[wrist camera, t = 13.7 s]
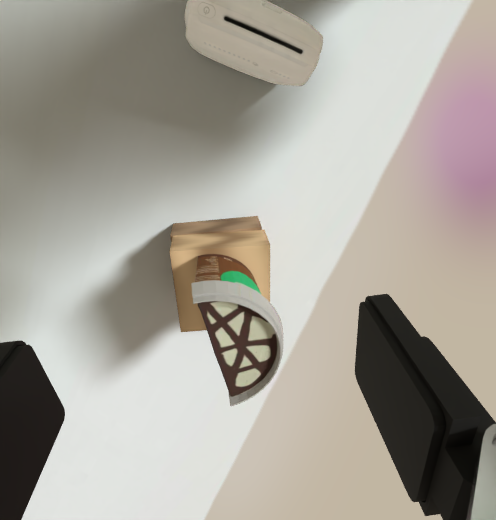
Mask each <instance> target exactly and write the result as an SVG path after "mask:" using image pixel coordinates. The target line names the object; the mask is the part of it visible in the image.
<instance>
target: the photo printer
mask: <svg viewBox="0 0 496 520" xmlns="http://www.w3.org/2000/svg"><path fill="white" fill-rule="evenodd" d="M184 19H185V24H186V39H187V41H188V42H189V44H190V45H191V47H192V48H193V49H194V50H196V51H197V52H199V53H200V54H202V55H204V56H206V57H208V58H210V59H212V60H214V61H216V62H219V63H221V64H223V65H226V66H228V67H230V68H233V69H235V70H237V71H240V72H242V73H245V74H248V75H250V76H253V77H256V78H258V79H261V80H264V81H267V82H270V83H274V84H279V85H291V86H302V85H304V84H305V83H306V82H307V80H308V79H309V77H310V76H311V74H312V72H313V71H314V69H315V68H316V66H317V63H318V60H319V55H320V53H321V50H322V45H323V37H322V35H321V34H320V33H319V32H318V31H317V30H316V29H315V28H314V27H313V26H312V25H310V24H309V23H307V22H306V21H304V20H303V19H301V18H299V17H297V16H296V15H294V14H292V13H290V12H288V11H286V10H284V9H282V8H281V7H279V6H277V5H274V4H273V3H270V2H268V1H266V0H188V1H187V4H186V8H185V15H184Z"/></svg>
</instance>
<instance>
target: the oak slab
mask: <svg viewBox="0 0 496 520" xmlns="http://www.w3.org/2000/svg"><path fill="white" fill-rule="evenodd" d="M205 254H221V255H225V256H229V257H232V258H234V259H236V260H238V261H240V262H241V263H243V264H244V265H245V266H246V267H247V268H248V269H249V270H250V271H251V273H252V275H253V276H254V279H255V281H256V283H257V285H258V288H259V290H260V292H261V294H262V296H263V297H265V298H266V299H267V300H268V301H269V302H270V243H269V241H268V238H267V236H266V233H265V230H254V231H238V232H223V233H207V234H191V235H175V236H173V238H172V243H171V247H170V258H171V265H172V272H173V279H174V286H175V293H176V300H177V307H178V314H179V321H180V328H181V332H188V331H200V330H207V329H206V326H205V323H204V320H203V317H202V314H201V311H200V309H199V307H198V304H197V303H195V304H193V296H192V283H195V276H196V267H197V258H198V256H200V255H205Z"/></svg>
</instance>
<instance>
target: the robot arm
mask: <svg viewBox="0 0 496 520" xmlns="http://www.w3.org/2000/svg"><path fill="white" fill-rule="evenodd" d="M355 375H356V379H357V382H358V384H359V386H360V389H361V391H362V393H363V395H364V398H365V400H366V402H367V404H368V407H369V408H370V411H371V413H372V415H373V418H374V420H375V422H376V424H377V426H378V429H379V431H380V433H381V435H382V438H383V440H384V442H385V444H386V446H387V449H388V451H389V453H390V455H391V458H392V460H393V462H394V464H395V466H396V469H397V471H398V473H399V475H400V478H401V480H402V482H403V484H404V486H405V489H406V491H407V493H408V495H409V497H410V498H411V500H412V501H413V502H419V503H420V506H421V507H422V510H423V512H424V514H425V516H429V515H436V514H441V516H442V518H443V520H496V422H495V421H494V420H493V418H492V417H491V416H490V415H489V413H488V412H487V411H486V410H485V408H484V407H483V406H482V405H481V403H480V402H479V401H478V399H477V398H476V397H475V396H474V395H473V393H472V392H471V391H470V389H469V388H468V387H467V386H466V384H465V383H464V382H463V381H462V379H461V378H460V377H459V376H458V374H457V373H456V372H455V370H454V369H453V368H452V367H451V365H450V364H449V363H448V361H447V360H446V359H445V358H444V356H443V355H442V354H441V353H440V351H439V350H438V349H437V348H436V346H435V345H434V344H433V342H431V341H430V339H429V338H427V337H421V336H420V335H419V334H418V332H417V331H416V329H415V328H414V327H413V325H412V324H411V323H410V322H409V320H408V319H407V318H406V316H405V315H404V314H403V312H402V311H401V310H400V309H399V307H398V306H397V305H396V303H395V302H394V301H393V299H392V298H391V297H390V296H389V295H388V294H382V295H374V296H368V297H366V300H365V302H361V303H360V306H359V320H358V334H357V347H356V362H355ZM64 417H65V410H64V407H63V405H62V403H61V401H60V399H59V397H58V396H57V394H56V392H55V390H54V388H53V386H52V384H51V382H50V380H49V378H48V377H47V375H46V373H45V371H44V369H43V367H42V365H41V363H40V361H39V359H38V358H37V356H36V354H35V352H34V350H33V348H32V347H31V346H30V345H26V343H25V342H23V341H12V342H4V343H0V520H21V519H22V516H23V514H24V512H25V509H26V507H27V505H28V502H29V500H30V498H31V495H32V493H33V491H34V489H35V486H36V484H37V482H38V479H39V477H40V475H41V472H42V470H43V468H44V465H45V463H46V461H47V458H48V456H49V454H50V452H51V449H52V447H53V445H54V442H55V440H56V438H57V435H58V433H59V431H60V428H61V426H62V424H63V421H64Z"/></svg>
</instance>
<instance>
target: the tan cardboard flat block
mask: <svg viewBox="0 0 496 520" xmlns="http://www.w3.org/2000/svg"><path fill="white" fill-rule="evenodd" d="M254 230H262V227H261V224H260V221H259V219H258V216H253V217H242V218H230V219H219V220H208V221H197V222H186V223H175V224H173V226H172V231H171V235H170V237H171V242H172V238H173V236H175V235H191V234H207V233H223V232H238V231H254Z"/></svg>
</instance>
